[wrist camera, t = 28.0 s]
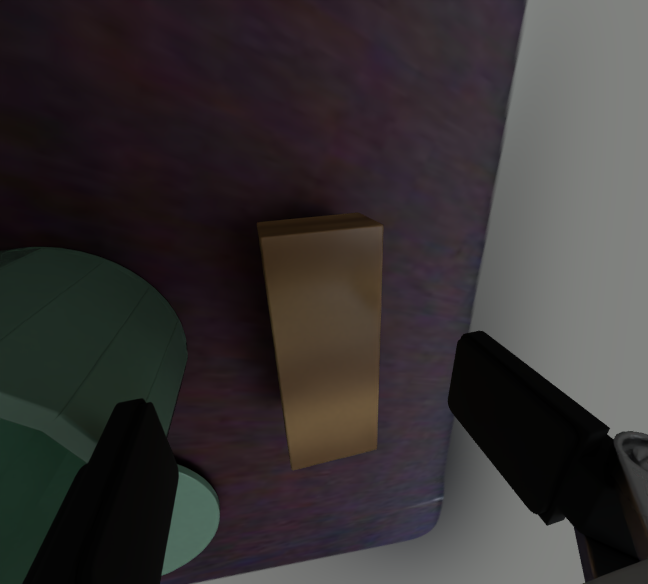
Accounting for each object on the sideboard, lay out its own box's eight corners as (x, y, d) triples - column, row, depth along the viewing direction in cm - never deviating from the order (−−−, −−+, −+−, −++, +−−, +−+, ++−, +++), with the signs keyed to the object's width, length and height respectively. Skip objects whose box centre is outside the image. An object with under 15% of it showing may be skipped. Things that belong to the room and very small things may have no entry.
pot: (-136, 262, 12) (-767, 440, 5) (158, 234, 14) (60, 325, 7) (-4, 452, 16) (-213, 704, 9) (205, 409, 19) (180, 585, 11)
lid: (-24, 477, 17) (-151, 631, 11) (201, 429, 19) (185, 538, 14) (61, 588, 22) (0, 734, 16) (233, 539, 24) (230, 653, 18)
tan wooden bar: (254, 214, 15) (259, 237, 11) (347, 206, 16) (384, 224, 12) (281, 405, 20) (291, 471, 16) (350, 391, 21) (377, 449, 17)
